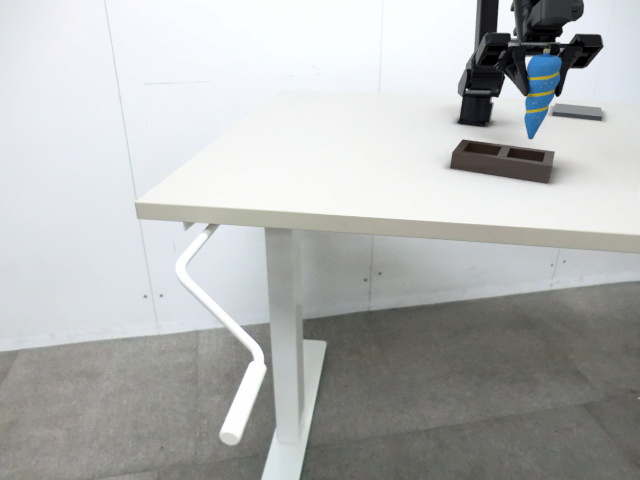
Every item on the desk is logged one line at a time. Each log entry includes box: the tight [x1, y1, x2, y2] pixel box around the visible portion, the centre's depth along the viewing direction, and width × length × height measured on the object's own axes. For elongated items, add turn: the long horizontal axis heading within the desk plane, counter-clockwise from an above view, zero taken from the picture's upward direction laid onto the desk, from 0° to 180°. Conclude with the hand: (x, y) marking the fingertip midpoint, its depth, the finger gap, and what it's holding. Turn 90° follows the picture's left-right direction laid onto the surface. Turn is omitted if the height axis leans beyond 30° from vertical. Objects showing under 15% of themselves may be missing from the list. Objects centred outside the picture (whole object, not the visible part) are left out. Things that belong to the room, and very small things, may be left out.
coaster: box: [552, 102, 603, 122], centre depth 123 cm, size 11×11×1 cm
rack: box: [449, 138, 556, 184], centre depth 85 cm, size 9×16×3 cm, turn 64°
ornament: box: [523, 46, 561, 140], centre depth 78 cm, size 5×5×15 cm
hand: (542, 95), depth 77 cm, fingers closed on ornament, 5 cm apart
